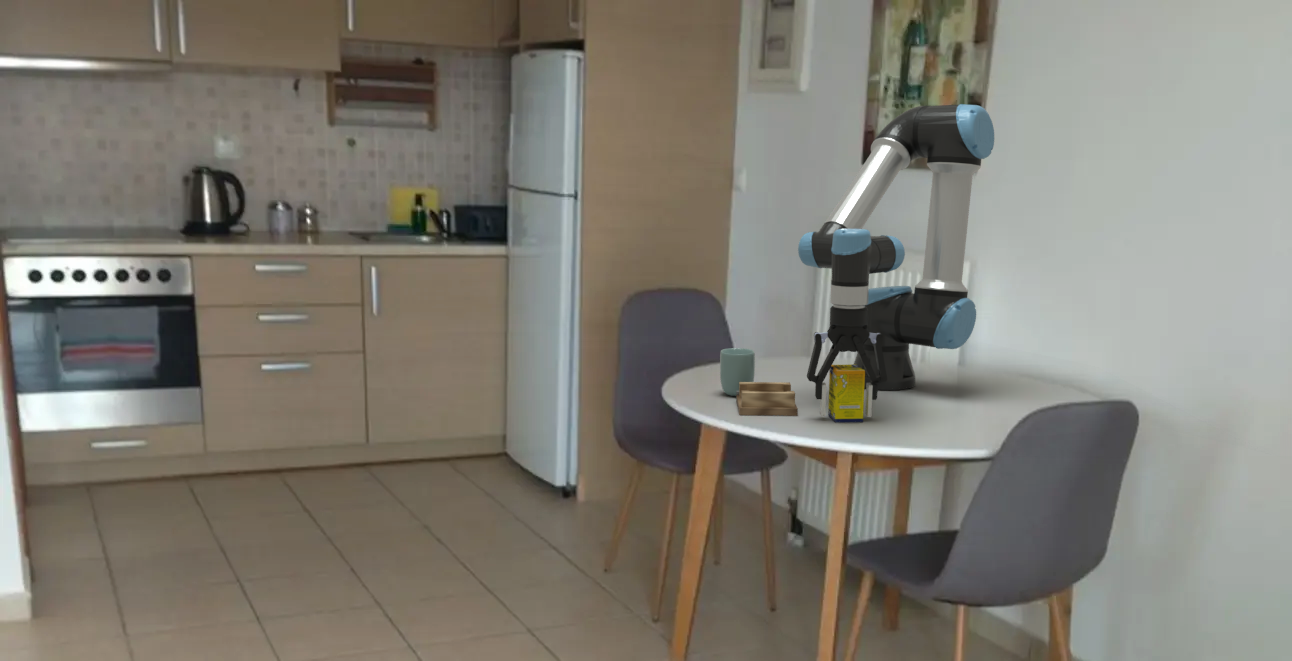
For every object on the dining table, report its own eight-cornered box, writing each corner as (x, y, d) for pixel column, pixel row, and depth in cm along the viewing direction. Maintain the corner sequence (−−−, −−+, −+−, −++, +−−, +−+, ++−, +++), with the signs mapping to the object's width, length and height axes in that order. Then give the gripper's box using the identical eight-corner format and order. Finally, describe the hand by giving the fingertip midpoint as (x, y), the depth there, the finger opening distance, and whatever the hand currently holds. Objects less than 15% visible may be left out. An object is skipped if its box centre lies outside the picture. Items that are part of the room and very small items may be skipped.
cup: (752, 399, 241) (753, 354, 239) (717, 397, 242) (718, 353, 241) (755, 391, 248) (756, 348, 247) (722, 390, 250) (722, 347, 248)
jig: (791, 401, 239) (791, 381, 238) (797, 415, 226) (798, 394, 225) (736, 401, 239) (736, 381, 238) (739, 415, 226) (740, 394, 225)
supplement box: (827, 416, 226) (828, 364, 224) (855, 415, 226) (857, 364, 224) (834, 423, 220) (836, 370, 218) (863, 422, 220) (865, 369, 219)
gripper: (898, 303, 223) (894, 411, 226) (793, 302, 223) (791, 410, 227) (906, 308, 215) (901, 419, 219) (797, 308, 216) (795, 418, 220)
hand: (845, 414), depth 223 cm, fingers open, 9 cm apart
